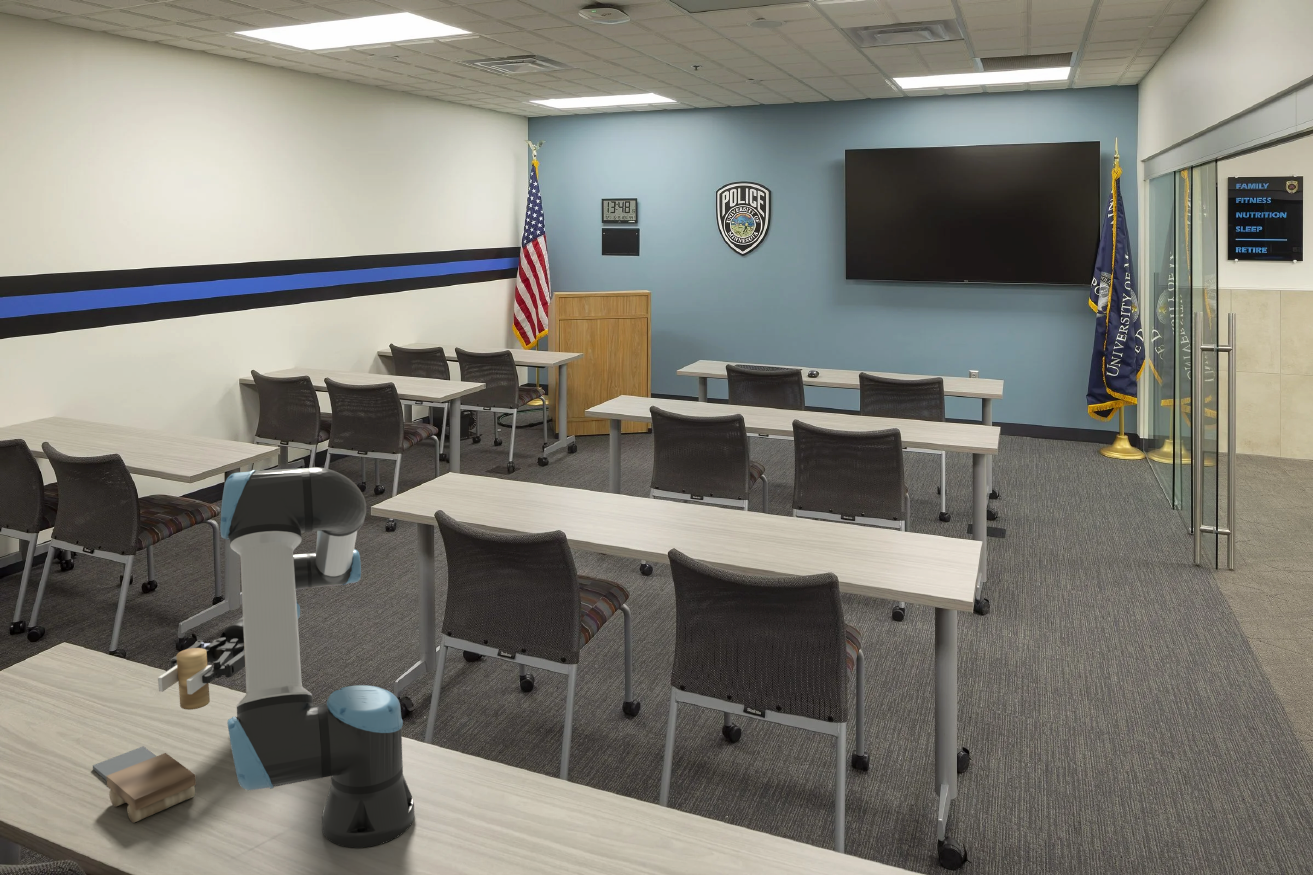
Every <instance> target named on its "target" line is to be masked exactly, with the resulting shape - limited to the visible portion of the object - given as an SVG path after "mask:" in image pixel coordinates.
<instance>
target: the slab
mask: <svg viewBox="0 0 1313 875" xmlns="http://www.w3.org/2000/svg"><path fill="white" fill-rule="evenodd" d="M106 777H107V781H106V786H107V787H108V788H109V789H110V790H109V794H108V795H109V800H110V803H111V804H112V806H113V807H115V808H117V807H118V806H121V805H124V804H127V808H126V810H127V811H126V812H127V816H128V818H129V820H130V821H131V823H133V824H134V823H136V822H139V821H141V820H144V819H146V818H148V817H151V816H153V815H154V814H157V813H159V812H161V811H162V812H163V811H164V810H167V809H169V808H171V807H173V806H175V805H178V804H180V803H183V802H184V801H187V800H189V799H192V798H193V797H195V795H196V790H195V789H196V788H195V786H196V785H197V782H196V774H195V773H194V772H192V771H191V770H189V768H187V767H186V766H184V765H183V764H182V763H180V762H179V761H178V760H176V758H173V757H172V756H171V755H169V754H168V753H167V752H163V753H161V754H159V755H156V757H153V758H151V759H148V760H146V761H143V762H141V763H138V764H135V765H133V766H130V767H128V768H125V769H123V770H120V771H118V772H115V773H112V774H110V775H107V776H106Z"/></svg>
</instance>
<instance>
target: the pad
mask: <svg viewBox="0 0 1313 875" xmlns="http://www.w3.org/2000/svg"><path fill="white" fill-rule="evenodd" d="M156 756H157V755H156V754H154V752H152V751H151V750H149V749H148V748H146V747H145V746H144V745H142V746H140V747H137V748H135V749H132V750H129V751H126V752H125V753H121V754H119V755H116V756H114V757H111V758H108V759H105V760H103V761H101V762H97V763H95V764H93V765H92V770H93V771H94V772H96V773H97V774H98V775H99V776H100V777H101V778H102V779H103V780H105V781H106V782H107V777H106V776H107V775H110V774H112V773H115V772H118V771H120V770H123V769H125V768H128V767H130V766H133V765H135V764H138V763H141V762H143V761H146V760H148V759H151V758H153V757H156Z"/></svg>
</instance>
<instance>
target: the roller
mask: <svg viewBox="0 0 1313 875" xmlns="http://www.w3.org/2000/svg"><path fill="white" fill-rule="evenodd" d="M176 656H177V669H178V682H177V683H178V694H179V706H180V708H181V709H182V710H190V711H191V710H196V709H197V710H198V709H201V708H204V707H205V706H207V705H208V704H210V702H211V699H210V683H207V684H205V685H204V686H202V687H201V688H200V689H198V690H197V691H196V692H194V693H193V694H188V693H187V680H188V679H189V678H191V677H192V676H193V675H195V674H196V673H198V672H199V671H201V670H202V669H204V668H205V667H206V666H208V663H207V652H206V650H205V649H203V648H191V649H188V648H186V649H183V650H181V651H179V652H178V653H177V654H176Z"/></svg>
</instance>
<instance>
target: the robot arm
mask: <svg viewBox="0 0 1313 875" xmlns="http://www.w3.org/2000/svg"><path fill="white" fill-rule="evenodd" d="M223 486H224V487H223V493H222V498H221V500H222V501H221V509H220V510H221V511H220V529H219V530H220V537H221V538H222V539H224V540H227V541H229V543H230V544H229V547H230V549H231V550H232V551H234V552H235V553H237V555H239V557H240V558H239V559H240V576H241V577H240V578H241V582H240V583H241V600H242V602H241V603H242V617H241V618H239V619H237V621H235V622H233V623H231V624H230V625H228V626H227V627H225V629H223V631H222V633H221V634H220V636H219V638H218V639H213V640H211V641H210V642H209V643H208V642H207V643H205V642H204V641H203V639H197V640H196V641H195V643H194V644H192V645H191V646H189V647H188V648H187V649H191V648H203V649H205V650H206V652H207V666H206V667H205V668H204V669H202V670H201V671H199V672H198V673H196V674H195V675H193V676H192V677H191V678H189V679H188V680H187V693H188V694H193V693H194V692H196V691H197V690H198V689H200V688H201V687H202V686H204V685H205V684H207V683H209V684H210V683H211V682H213V681H214V680H215V679H220V678H222V677H223V676H224V677H225V678H226V679H227V678H232V677H233V676H235V675H236V674H237V673H238V672H240V671H241V670H242V669H243V668H245V670H244V671H245V695H244V696H243V698H241V700H240V701H239V702H238V703H237V705H236V716H232V717H231V718H229V719H228V720H227V724H226V725H227V728H228V729H227V730H228V737H229V741H230V747H231V753H232V757H233V758H232V759H233V764H234V768H235V769H234V770H235V774H236V777H237V782H238V784H239V786H240V787H241V788H242V789H244V790H246V791H254V790H255V791H256V790H262V789H268V788H269V789H274V788H275V787H280V786H285V785H292V784H295V783H301V782H307V781H312V780H318V779H323V778H327V777H330V780H331V781H330V788H329V791H328V795H327V797H326V798H327V799H326V801H325V806H324V807H323V810H322V813H321V814H322V815H321V826H322V827H321V828H322V833H323V835H324V837H325V838H326V839H327V840H328V841H329V842H332V843H333V844H335V845H337V846H341V847H345V848H368V847H374V845H375V846H378V844H379V845H382V844H384V843H383V842H385V843H387V842H386V841H388V842H390V841H392V840H394V839H396V838H398V837H399V836H401V835H402V834H403V832H404V831H405V830H406V829H407V828H408V827H409V826H411V825H412V824H413V822H414V819H415V802H414V799H413V798H414V797H413V794H412V793H411V790H410V788H409V786H408V783H407V781H406V778H405V776H404V773H403V772H404V770H403V769H404V768H403V767H404V765H403V763H404V762H403V742H402V741H403V737H402V736H403V734H402V733H403V732H402V728H403V725H404V724H403V723H404V721H403V719H402V712H401V711H402V710H401V704H400V700H399V698H398V697H397V696H396V695H395V694H394V693H393V692H391V691H389V690H387V689H386V688H385V689H384V688H382V687H379V686H376V685H375V686H374V685H366V684H359V685H358V684H357V685H348V686H343V687H341V688H340V689H337V690H334V691H333V692H331V693H330V695H329V696H328V698H327V700H326V703H321V704H316V705H314V702H313V693H311V692H310V691H309V690H307V689H306V688H305V687H303V684H302V682H303V681H302V669H301V668H302V667H301V653H300V650H301V649H300V639H299V636H300V634H299V622H298V620H299V619H300V615H301V606H300V605H299V603H298V602H297V593H296V591H297V590H301V589H302V590H303V589H312V588H322V587H331V586H346V585H347V584H354V583H358V582H360V580H361V577H362V566H361V565H362V564H361V563H362V562H361V561H362V560H361V556H360V552H359V550H358V549H355V546H356V541H357V536H358V531H359V530H360V528H361V527H362V526H363V525H364V522H365V519H366V516H367V515H366V514H367V502H366V498H365V497H364V494H363V493H362V491H361V489H360V488H359V487H358V486H357V485H356V483H355V482H354V481H352V480H351V479H350V478H348V477H347V476H345V474H342V473H340V472H337V471H336V470H333V469H329V468H326V467H317V466H313V467H311V466H310V467H306V468H303V467H302V468H301V467H299V468H284V469H283V468H282V469H265V470H257V469H252V470H251V471H242V472H233V473H231V474H230V475H229V476H228V477H227V478H226V480H225V483H224V485H223ZM307 532H308V533H309V532H317V533H316V545H315V546H316V548H315V552H309V553H308V552H307V553H297V554H294V551H295V550H296V548H297V547H299V545H300V544H301V543H302V542H303V540H302V539H303V538H302V533H307ZM169 661H170V668H168V669H167V670H165V672H164V673H163V674H161V675H159V676H158V677H157V684H158V692H160V693H163V692H165V691H166V690H167V689H169V688H170V687H172V686H173V685H175V684H176V683H178V669H177V655H175V656H173V657H172V658H170V660H169ZM208 663H209V664H208ZM212 664H213V665H212ZM412 821H413V822H412ZM411 823H412V824H411ZM410 824H411V825H410ZM409 828H410V827H409ZM409 828H408V829H409ZM408 829H407V830H408ZM407 830H406V831H407ZM406 831H405V832H406ZM405 832H404V833H405ZM401 833H402V834H401ZM400 834H401V835H400ZM398 835H399V836H398ZM397 836H398V837H397ZM395 837H396V838H395ZM393 838H394V839H393ZM391 839H392V840H391ZM389 840H390V841H389ZM381 843H382V844H381Z"/></svg>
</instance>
